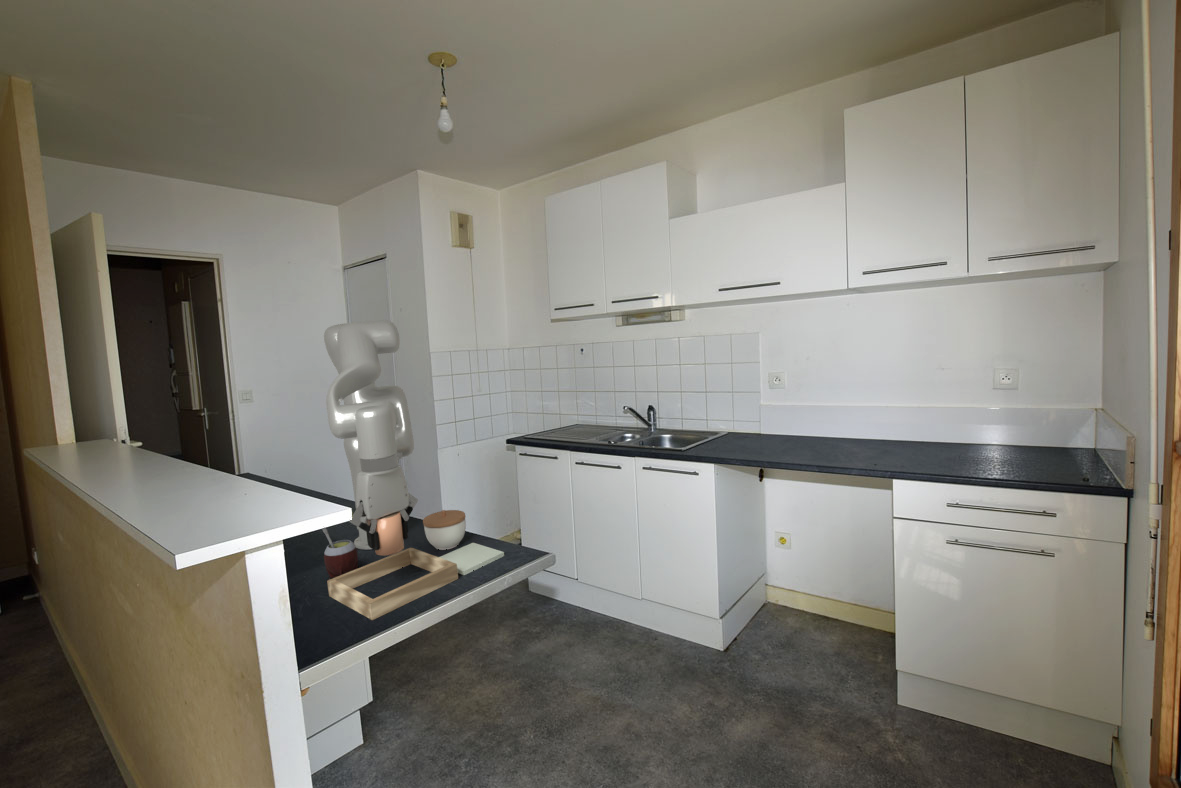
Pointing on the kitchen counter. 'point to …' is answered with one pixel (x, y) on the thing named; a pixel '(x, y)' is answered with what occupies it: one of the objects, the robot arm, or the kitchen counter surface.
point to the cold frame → (398, 597)
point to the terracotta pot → (390, 534)
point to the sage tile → (472, 557)
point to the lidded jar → (445, 528)
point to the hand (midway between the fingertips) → (389, 542)
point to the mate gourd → (340, 557)
